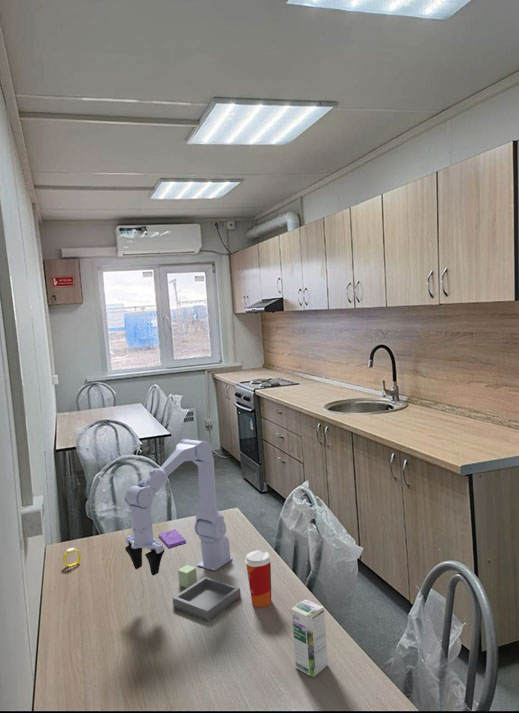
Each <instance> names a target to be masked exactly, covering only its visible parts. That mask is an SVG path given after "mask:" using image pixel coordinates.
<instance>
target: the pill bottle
mask: <svg viewBox="0 0 519 713" xmlns="http://www.w3.org/2000/svg"><path fill="white" fill-rule="evenodd" d="M271 562H272V556H271V555H270V553H269V552H268V551H264V550H252V551H251V552H249V553H247V554H246V556H245V559H244V563H245V565H246V570H247V577H248V578H247V579H248V585H249V591H250V592H249V593H250V598H251V603H252V606H254V607H255V608H260V609H261V608H266V607H268V606H270V605H271V603H272V572H271V571H272V570H271V569H272V566H271Z"/></svg>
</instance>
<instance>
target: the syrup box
mask: <svg viewBox="0 0 519 713" xmlns="http://www.w3.org/2000/svg"><path fill="white" fill-rule="evenodd" d="M290 612H291V615H290V616H291V625H292V638H293V640H292V641H293V653H294V666H295V669H298V670H299V671H301V672H303V673H305V674H306V675H308V676H309V677H312V678H315V677H316V676H317V675H318V674H319V673H320V672H322V671H323V670H324V669H325V668H326V667H328V666H329V664H328V663H329V661H328V647H327V646H328V645H327V644H328V643H327V632H326V631H327V630H326V617H325V607H324V606H323V605H320V604H317V603H315V602H313V601H311V600H310V599H309V600H308V599H304V600H301V601H300V602H298V603H297V604H296V605H294V606H293V607H292V608H291V611H290Z"/></svg>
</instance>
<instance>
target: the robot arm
mask: <svg viewBox="0 0 519 713" xmlns="http://www.w3.org/2000/svg"><path fill="white" fill-rule="evenodd" d="M185 462H193V463H194V464H195V465H196V466H197V472H198V490H199V491H198V494H199V507H200V511H199V512H198V513H197V514H196V515H195V522H194V523H195V524H194V533H195V534H196V535H198V539H199V540H200V549H201V557H202V560H201V561H200V562H199V563H197V566H198V567H201V568H204V569H207V570H210V571H213V572H214V571H216V570H218V569H220V568H221V567H223V566H224V565H226V564H227V563H229V562H230V561H232V560H233V557H231V549H230V540H229V537H228V536H227V535H226V532H227V525H226V523H225V520H224V518H225V517H224V515H223V514H222V513H221V512H220V511H219V510H218V509H217V507H218V506H217V492H216V476H215V475H216V472H215V458H214V456H213V445H212V444H211V443H210V442H208V441H207V440H196V439H189V438H183V439H181V440H180V442H179V443H178V444H176V445H175V450H174V451H173V452H172V453H171V454H170V455H169V457H168V458H167V459H166V460H165V461H164V463H163V464H162V465H161V466H160V467H158V468H157V467H155V468H153V469H150V470H149V471H148V474H146V475H145V476H144V477H143V478H142V480H139V482H138V483H137V485H135V484H134V485H132V486H130V487H129V488H128V490H127V491H126V494H125V497H124V502H125V503H126V504H127V505H128V509H129V511H130V518H131V530H132V534H130V535H128V536H125V543H126V544H127V545H126V546H125V548H124V550H125V552H126V553H127V554H128V556H129V557H130V559H131V561H132V565H133V567H134V569H135V570H138V569H140V568H142V567H143V549H147V550H149V552H147V553H145V554H144V556H145V557H146V560H147V562H148V564H149V570H150V574H151V576H153V577H154V576H156V575H158V574H159V573H160V572H159V571H160V566H161V562H162V558H163V556H164V553H165V548H164V546H163V544H162V543H160V542H159V541H157V540H156V539H155V538H154V530H153V522H152V521H153V520H152V513H151V511H152V510H151V505H152V504H153V501H154V499H155V496H156V494H157V492H159V491H160V489H162V488H163V486H165V484H167V481H168V476H169V475H171V473H172V472H174V471H175V470H177V469H178V467H179V466H180V465H181V464H183V463H185Z"/></svg>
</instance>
